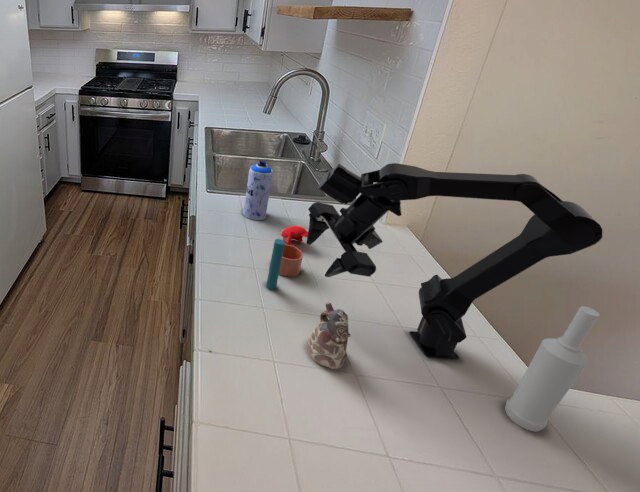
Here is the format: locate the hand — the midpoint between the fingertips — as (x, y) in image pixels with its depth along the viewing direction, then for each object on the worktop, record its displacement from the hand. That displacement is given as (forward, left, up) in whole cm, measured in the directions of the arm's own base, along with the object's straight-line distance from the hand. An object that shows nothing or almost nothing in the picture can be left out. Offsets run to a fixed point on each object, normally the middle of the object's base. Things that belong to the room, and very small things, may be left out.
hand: (317, 259), depth 90 cm
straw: (+4, +8, -12) cm, 15 cm away
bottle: (-27, -28, -13) cm, 41 cm away
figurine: (-16, +2, -13) cm, 20 cm away
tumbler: (+12, +2, -12) cm, 18 cm away
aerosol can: (+41, +4, -13) cm, 43 cm away
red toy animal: (+24, -4, -13) cm, 28 cm away
